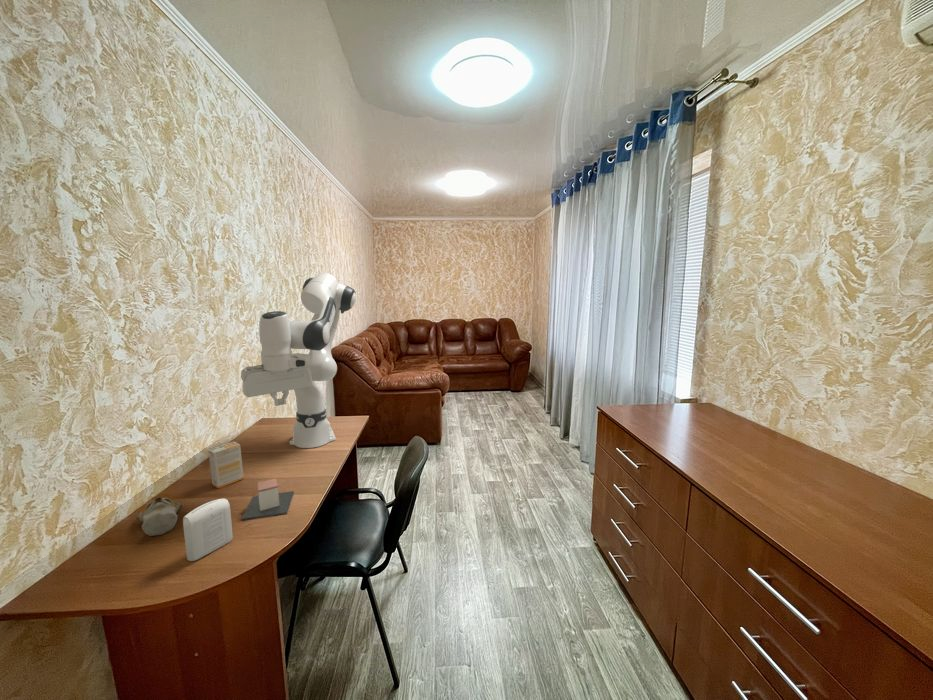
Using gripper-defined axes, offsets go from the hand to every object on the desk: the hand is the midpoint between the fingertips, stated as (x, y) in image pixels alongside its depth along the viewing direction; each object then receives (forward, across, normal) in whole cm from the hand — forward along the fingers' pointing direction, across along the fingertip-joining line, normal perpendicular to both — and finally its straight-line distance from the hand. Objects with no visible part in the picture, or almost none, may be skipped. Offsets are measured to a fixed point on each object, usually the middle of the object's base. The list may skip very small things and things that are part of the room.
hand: (280, 404), depth 118 cm
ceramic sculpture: (+30, -32, +4) cm, 44 cm away
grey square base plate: (+29, -8, -7) cm, 31 cm away
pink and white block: (+29, -8, -7) cm, 30 cm away
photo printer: (+29, -25, -17) cm, 42 cm away
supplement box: (+29, -13, +18) cm, 37 cm away
